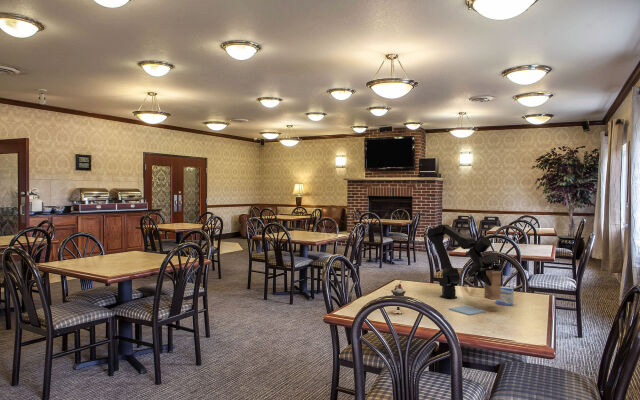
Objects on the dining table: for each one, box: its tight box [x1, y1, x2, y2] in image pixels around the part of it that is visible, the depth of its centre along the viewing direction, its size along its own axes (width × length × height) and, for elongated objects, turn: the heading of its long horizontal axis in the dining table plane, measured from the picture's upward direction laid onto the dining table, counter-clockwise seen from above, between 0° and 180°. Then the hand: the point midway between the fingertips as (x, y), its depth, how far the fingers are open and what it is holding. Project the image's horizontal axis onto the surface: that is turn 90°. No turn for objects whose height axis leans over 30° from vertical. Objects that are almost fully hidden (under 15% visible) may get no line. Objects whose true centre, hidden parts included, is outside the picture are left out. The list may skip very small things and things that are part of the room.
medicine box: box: [495, 286, 515, 307], centre depth 233 cm, size 8×4×9 cm, turn 62°
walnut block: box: [483, 270, 502, 301], centre depth 220 cm, size 5×5×13 cm
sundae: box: [390, 281, 406, 311], centre depth 214 cm, size 7×7×15 cm
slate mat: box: [448, 304, 487, 316], centre depth 219 cm, size 12×12×1 cm
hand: (494, 285), depth 218 cm, fingers closed on walnut block, 5 cm apart
